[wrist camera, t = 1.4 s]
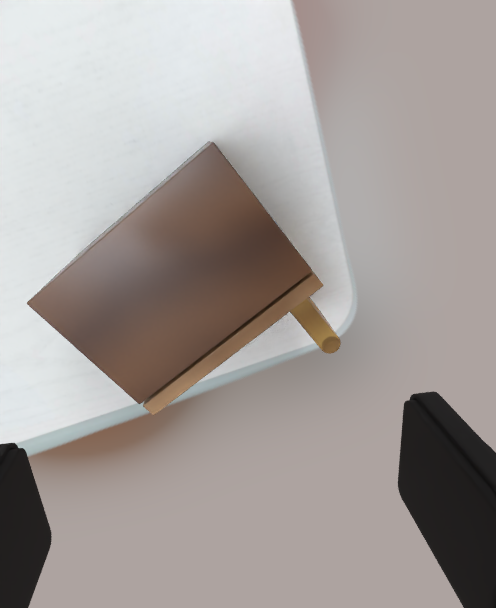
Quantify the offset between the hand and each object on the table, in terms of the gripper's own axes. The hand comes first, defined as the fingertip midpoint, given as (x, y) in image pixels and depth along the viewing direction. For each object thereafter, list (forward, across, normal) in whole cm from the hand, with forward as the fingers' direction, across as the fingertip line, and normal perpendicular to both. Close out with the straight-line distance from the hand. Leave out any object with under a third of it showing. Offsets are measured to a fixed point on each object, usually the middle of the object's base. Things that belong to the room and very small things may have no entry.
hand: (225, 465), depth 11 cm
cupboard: (+26, +2, 0) cm, 26 cm away
